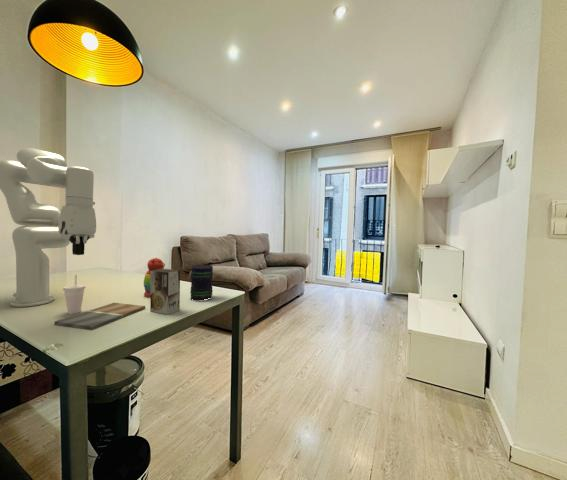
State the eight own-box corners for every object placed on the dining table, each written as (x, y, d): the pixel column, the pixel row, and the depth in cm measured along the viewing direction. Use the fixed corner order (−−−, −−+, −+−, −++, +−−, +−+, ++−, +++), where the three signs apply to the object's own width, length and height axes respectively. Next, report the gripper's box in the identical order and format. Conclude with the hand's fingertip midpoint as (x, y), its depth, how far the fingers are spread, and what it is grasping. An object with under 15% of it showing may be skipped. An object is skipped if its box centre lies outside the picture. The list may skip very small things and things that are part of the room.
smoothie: (72, 315, 88) (72, 276, 88) (58, 314, 90) (58, 275, 89) (89, 310, 95) (89, 273, 94) (76, 308, 96) (76, 272, 95)
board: (54, 324, 80) (54, 321, 80) (113, 305, 102) (113, 302, 102) (92, 329, 77) (92, 326, 77) (145, 308, 98) (145, 306, 98)
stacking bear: (162, 298, 113) (163, 259, 113) (139, 298, 112) (139, 259, 111) (170, 292, 124) (170, 257, 124) (148, 292, 123) (149, 256, 122)
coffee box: (180, 310, 98) (181, 269, 98) (168, 315, 92) (168, 272, 92) (162, 306, 101) (163, 267, 101) (149, 311, 95) (149, 270, 95)
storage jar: (216, 298, 116) (217, 266, 115) (197, 302, 108) (197, 268, 108) (205, 294, 122) (205, 264, 122) (186, 298, 115) (186, 266, 114)
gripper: (91, 204, 95) (90, 251, 96) (47, 200, 81) (46, 255, 82) (107, 205, 94) (106, 253, 95) (65, 201, 79) (63, 257, 80)
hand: (78, 254), depth 88 cm, fingers closed
